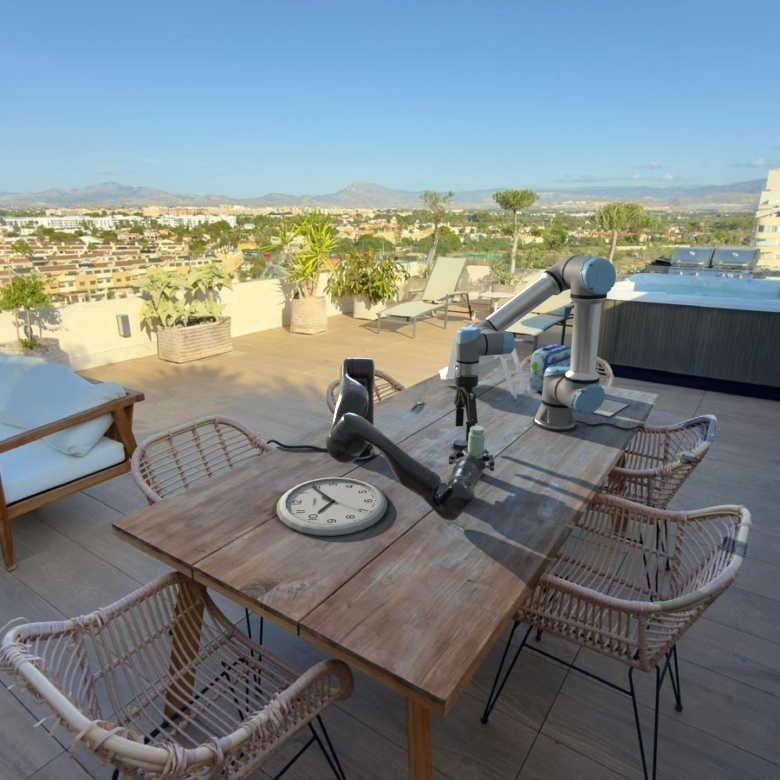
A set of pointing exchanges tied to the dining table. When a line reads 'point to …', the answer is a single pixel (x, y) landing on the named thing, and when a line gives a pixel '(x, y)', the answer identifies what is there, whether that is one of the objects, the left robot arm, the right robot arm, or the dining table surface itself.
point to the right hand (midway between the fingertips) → (464, 433)
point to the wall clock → (331, 506)
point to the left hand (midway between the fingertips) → (476, 450)
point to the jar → (476, 441)
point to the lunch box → (547, 363)
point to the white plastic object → (487, 369)
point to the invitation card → (609, 408)
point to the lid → (460, 444)
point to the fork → (418, 403)
